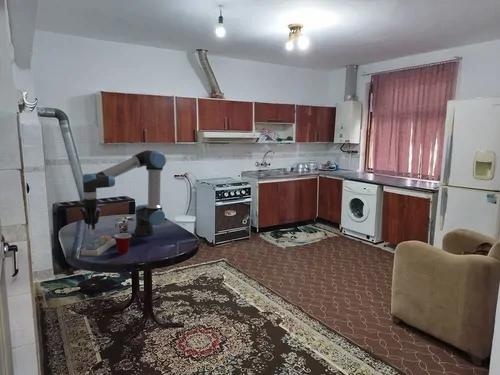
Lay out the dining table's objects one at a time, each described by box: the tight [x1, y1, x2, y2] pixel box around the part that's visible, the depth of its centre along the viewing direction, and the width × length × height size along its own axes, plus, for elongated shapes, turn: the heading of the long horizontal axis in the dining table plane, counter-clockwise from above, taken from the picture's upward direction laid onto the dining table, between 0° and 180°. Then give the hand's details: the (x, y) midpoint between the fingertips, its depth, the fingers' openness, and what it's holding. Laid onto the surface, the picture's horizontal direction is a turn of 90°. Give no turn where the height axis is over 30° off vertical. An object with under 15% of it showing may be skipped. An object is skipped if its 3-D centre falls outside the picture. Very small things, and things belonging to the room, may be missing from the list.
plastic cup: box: [113, 233, 132, 255], centre depth 224 cm, size 11×11×12 cm
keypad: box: [80, 237, 116, 257], centre depth 231 cm, size 11×25×3 cm, turn 175°
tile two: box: [91, 238, 106, 245], centre depth 231 cm, size 6×6×2 cm
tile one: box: [98, 235, 112, 241], centre depth 239 cm, size 6×6×2 cm
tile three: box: [85, 242, 100, 249], centre depth 223 cm, size 6×6×2 cm
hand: (91, 234), depth 222 cm, fingers closed
